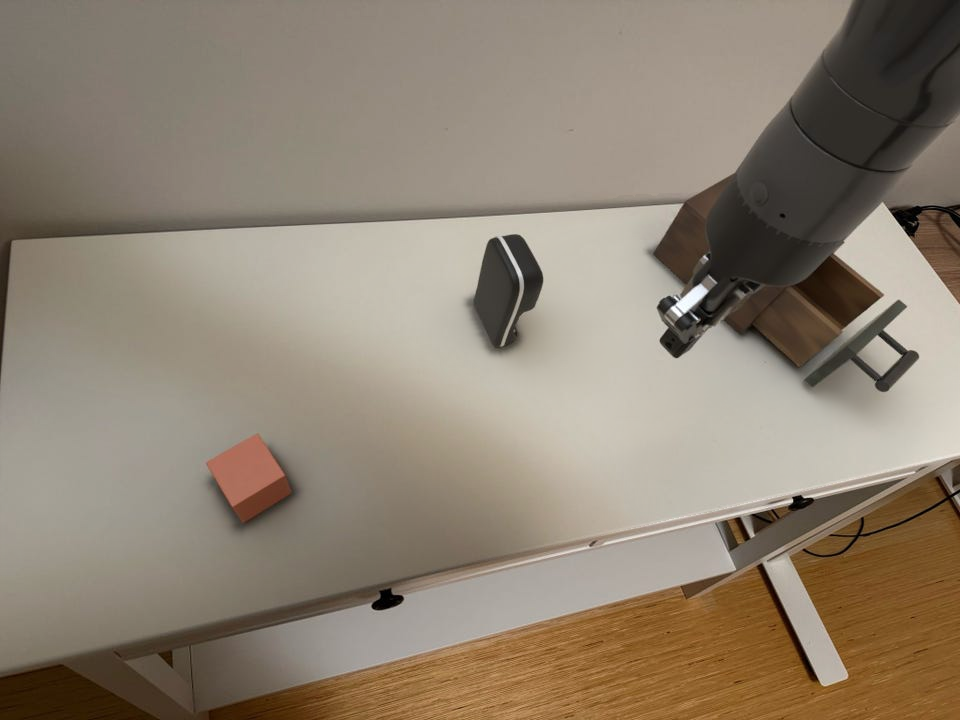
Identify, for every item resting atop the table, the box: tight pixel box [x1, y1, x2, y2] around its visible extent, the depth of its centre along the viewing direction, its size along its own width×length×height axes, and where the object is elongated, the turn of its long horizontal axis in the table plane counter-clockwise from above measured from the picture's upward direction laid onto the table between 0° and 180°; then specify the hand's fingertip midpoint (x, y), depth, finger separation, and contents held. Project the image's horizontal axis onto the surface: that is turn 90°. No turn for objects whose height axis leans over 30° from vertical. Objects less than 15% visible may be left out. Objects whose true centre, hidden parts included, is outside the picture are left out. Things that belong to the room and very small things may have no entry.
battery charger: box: [473, 233, 544, 348], centre depth 60 cm, size 7×4×11 cm, turn 22°
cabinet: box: [652, 173, 845, 335], centre depth 71 cm, size 15×13×9 cm
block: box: [205, 433, 292, 524], centre depth 50 cm, size 5×5×5 cm
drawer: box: [752, 253, 920, 393], centre depth 67 cm, size 18×11×7 cm, turn 39°
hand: (672, 346), depth 49 cm, fingers closed
